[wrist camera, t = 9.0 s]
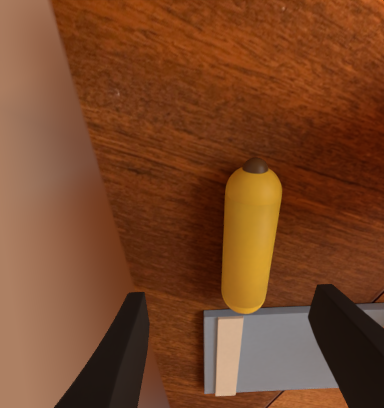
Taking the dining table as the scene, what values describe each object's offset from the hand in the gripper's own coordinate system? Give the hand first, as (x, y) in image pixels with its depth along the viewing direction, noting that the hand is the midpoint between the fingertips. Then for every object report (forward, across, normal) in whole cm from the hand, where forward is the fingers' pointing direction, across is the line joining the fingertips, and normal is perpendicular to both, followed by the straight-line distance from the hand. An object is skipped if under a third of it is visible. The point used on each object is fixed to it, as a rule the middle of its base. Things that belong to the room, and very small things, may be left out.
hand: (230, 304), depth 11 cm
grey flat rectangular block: (+9, -9, +19) cm, 23 cm away
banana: (+9, -2, +3) cm, 10 cm away
